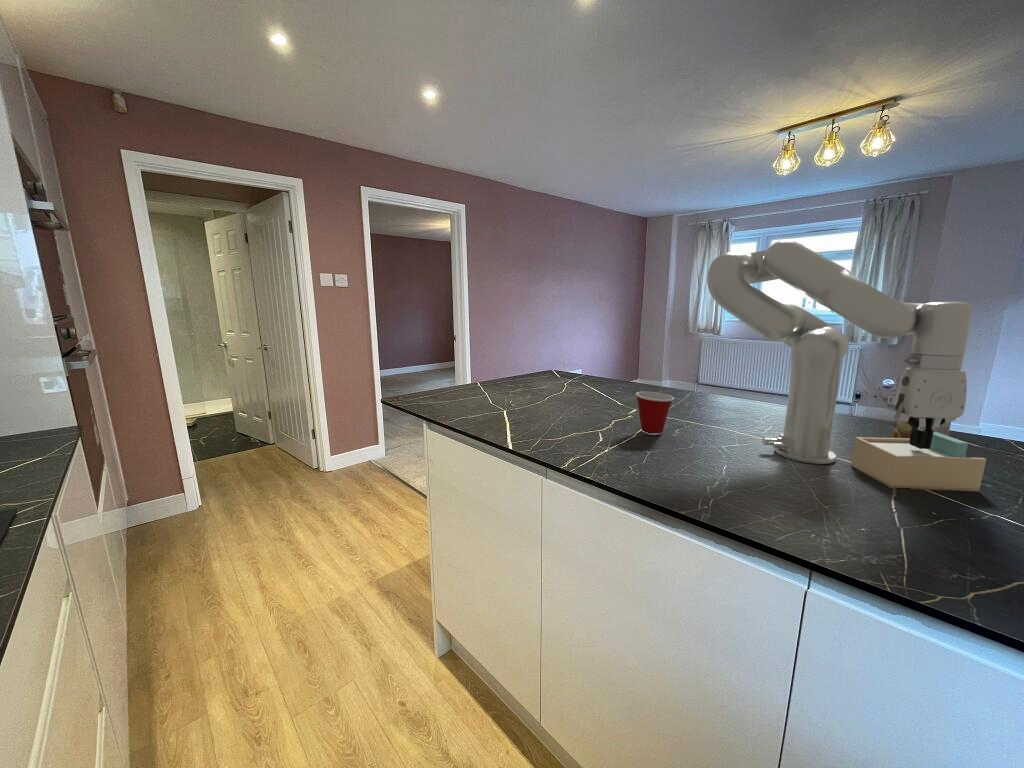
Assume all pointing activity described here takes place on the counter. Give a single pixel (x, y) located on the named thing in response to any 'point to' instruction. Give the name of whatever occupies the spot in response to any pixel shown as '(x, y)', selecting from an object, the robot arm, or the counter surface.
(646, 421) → the plastic cup
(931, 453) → the lid
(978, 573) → the counter surface
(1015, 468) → the counter surface
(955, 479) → the box
